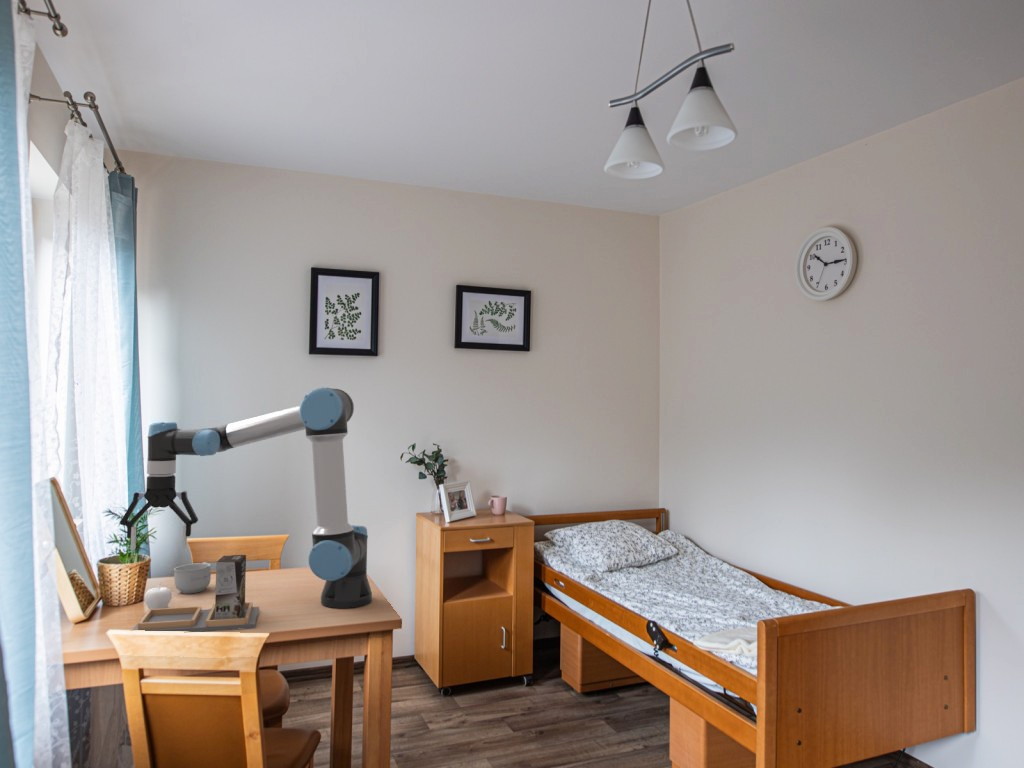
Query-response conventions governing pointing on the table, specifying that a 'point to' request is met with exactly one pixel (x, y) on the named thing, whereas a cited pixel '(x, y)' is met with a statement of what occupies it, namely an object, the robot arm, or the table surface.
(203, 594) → the table surface
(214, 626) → the plate
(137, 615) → the table surface
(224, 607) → the coffee box
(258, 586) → the table surface
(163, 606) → the plain white apple
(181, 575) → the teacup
